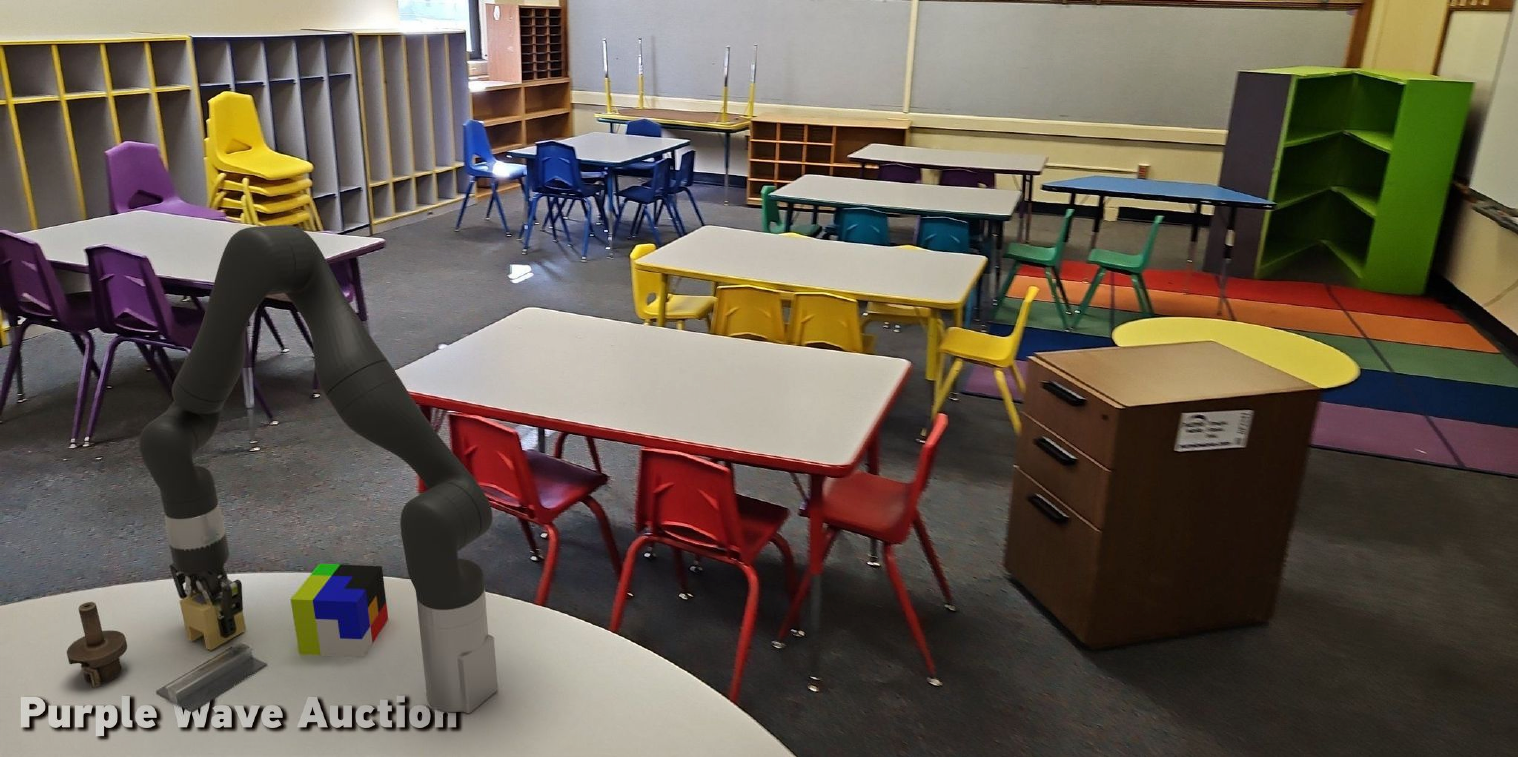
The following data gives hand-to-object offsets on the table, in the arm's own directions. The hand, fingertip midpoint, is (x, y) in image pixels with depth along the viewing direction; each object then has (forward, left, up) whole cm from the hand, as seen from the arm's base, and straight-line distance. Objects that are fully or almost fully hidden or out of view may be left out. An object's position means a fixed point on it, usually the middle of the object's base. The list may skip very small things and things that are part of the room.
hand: (215, 628), depth 156 cm
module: (0, 0, -1) cm, 1 cm away
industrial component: (+6, +13, -2) cm, 15 cm away
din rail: (-9, +7, -1) cm, 11 cm away
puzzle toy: (-17, -10, -2) cm, 20 cm away
